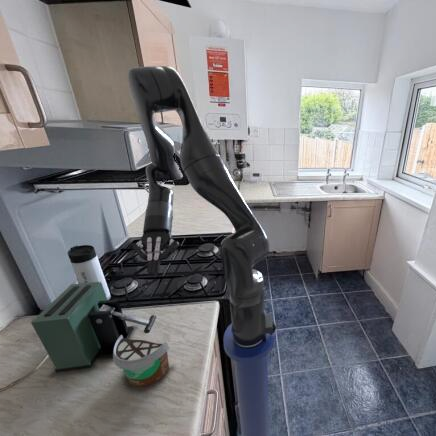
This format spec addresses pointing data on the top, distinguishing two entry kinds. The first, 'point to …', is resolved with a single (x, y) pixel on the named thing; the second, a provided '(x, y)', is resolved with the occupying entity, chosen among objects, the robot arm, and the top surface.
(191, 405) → the top surface
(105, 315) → the bracket
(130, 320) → the lever
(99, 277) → the travel mug
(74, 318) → the toaster body
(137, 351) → the food container
